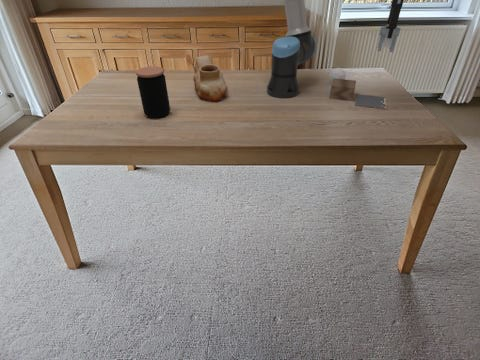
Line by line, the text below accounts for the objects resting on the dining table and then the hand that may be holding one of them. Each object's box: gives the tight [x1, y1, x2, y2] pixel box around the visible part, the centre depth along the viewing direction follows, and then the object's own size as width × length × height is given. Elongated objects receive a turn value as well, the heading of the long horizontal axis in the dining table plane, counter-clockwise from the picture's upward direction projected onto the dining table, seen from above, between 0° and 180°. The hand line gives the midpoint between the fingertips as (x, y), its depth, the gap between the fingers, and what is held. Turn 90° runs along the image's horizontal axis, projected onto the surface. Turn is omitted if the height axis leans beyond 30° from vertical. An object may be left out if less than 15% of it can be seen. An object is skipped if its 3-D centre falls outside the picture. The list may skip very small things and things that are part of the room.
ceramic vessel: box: [193, 54, 228, 103], centre depth 143 cm, size 14×26×15 cm, turn 19°
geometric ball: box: [328, 67, 347, 84], centre depth 153 cm, size 8×8×8 cm
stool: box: [377, 25, 401, 53], centre depth 120 cm, size 7×7×8 cm
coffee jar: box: [135, 65, 171, 120], centre depth 123 cm, size 11×11×18 cm
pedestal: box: [329, 78, 357, 102], centre depth 140 cm, size 10×10×6 cm
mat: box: [354, 93, 388, 109], centre depth 136 cm, size 13×13×1 cm
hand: (386, 44), depth 122 cm, fingers closed on stool, 7 cm apart
